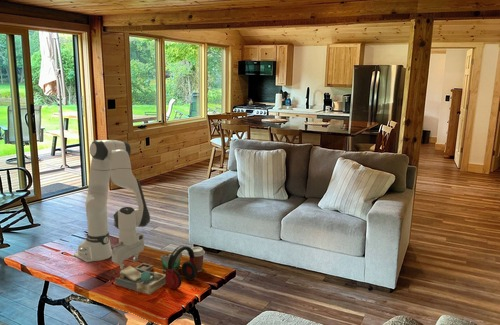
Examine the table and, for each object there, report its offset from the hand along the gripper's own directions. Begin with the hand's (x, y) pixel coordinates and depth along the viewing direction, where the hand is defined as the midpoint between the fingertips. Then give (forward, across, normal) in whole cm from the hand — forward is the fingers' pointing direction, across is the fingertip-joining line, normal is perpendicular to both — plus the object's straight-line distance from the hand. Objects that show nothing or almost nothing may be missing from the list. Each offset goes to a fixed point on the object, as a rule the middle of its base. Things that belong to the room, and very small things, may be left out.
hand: (128, 264), depth 205 cm
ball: (+4, 0, -11) cm, 12 cm away
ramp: (+7, 0, -2) cm, 7 cm away
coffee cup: (+9, +26, -24) cm, 37 cm away
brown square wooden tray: (+8, +12, +1) cm, 15 cm away
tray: (+8, 0, -15) cm, 17 cm away
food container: (+9, +18, -14) cm, 25 cm away
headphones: (+9, +10, -26) cm, 29 cm away
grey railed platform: (+8, 0, -4) cm, 9 cm away
